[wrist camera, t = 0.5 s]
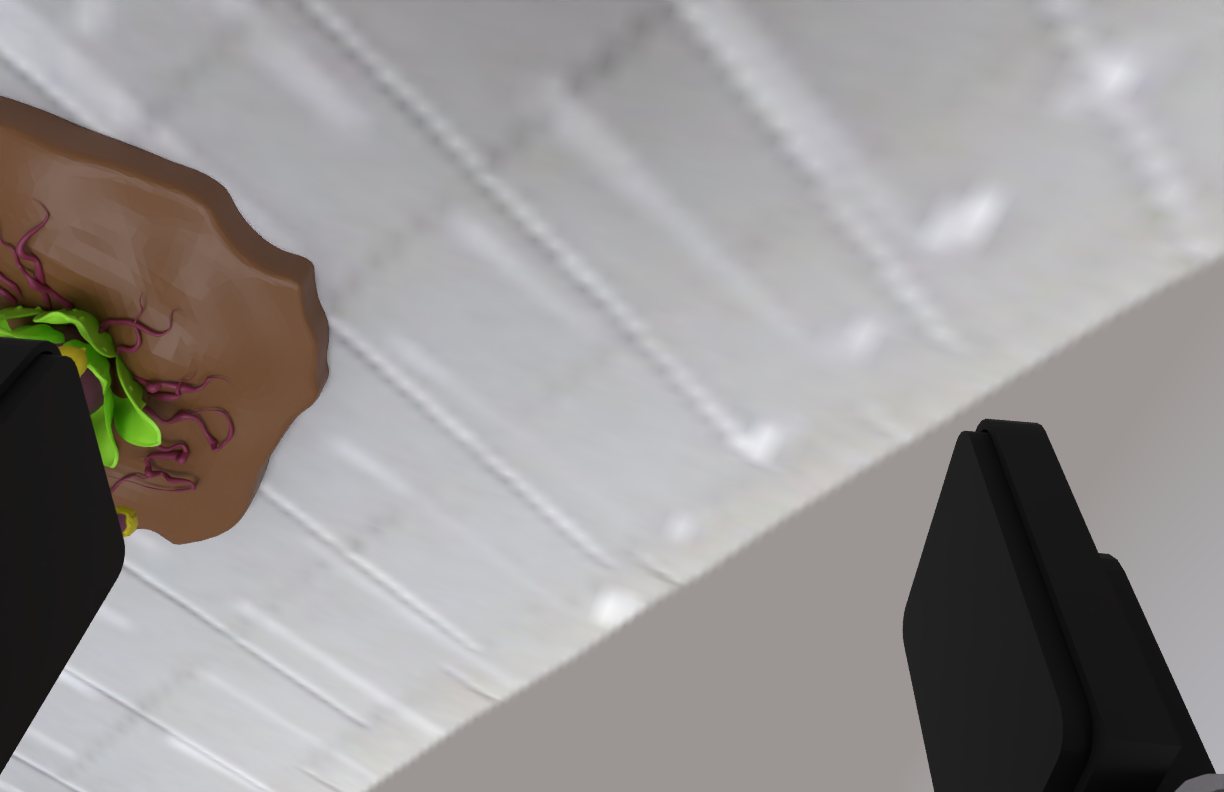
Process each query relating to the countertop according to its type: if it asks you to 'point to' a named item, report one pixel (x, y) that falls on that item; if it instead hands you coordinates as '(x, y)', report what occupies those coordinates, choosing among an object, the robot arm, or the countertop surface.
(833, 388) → the countertop surface
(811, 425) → the countertop surface
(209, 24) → the countertop surface
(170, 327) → the plant
